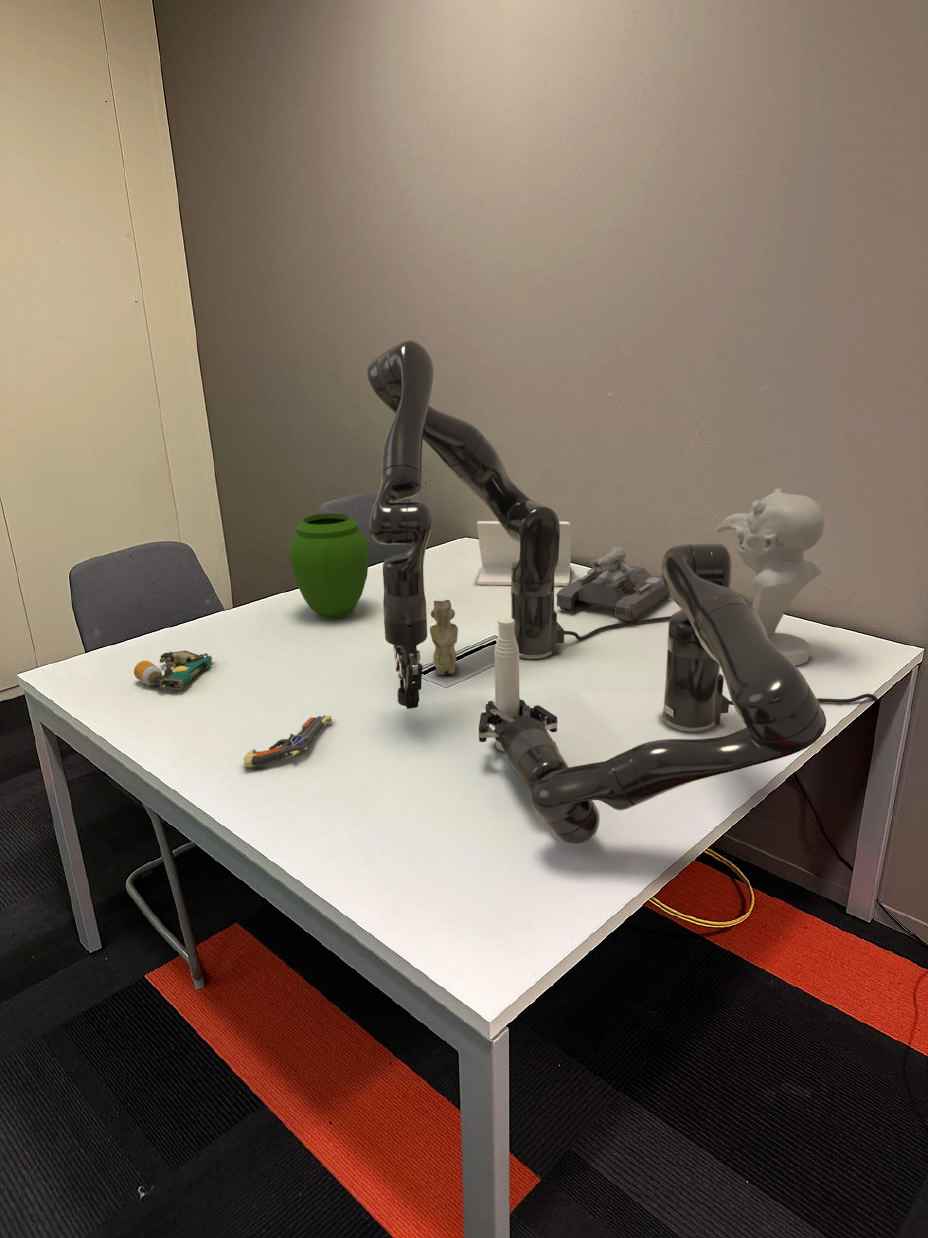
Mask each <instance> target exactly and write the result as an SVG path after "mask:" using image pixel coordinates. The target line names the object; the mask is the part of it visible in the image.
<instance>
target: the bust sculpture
mask: <svg viewBox="0 0 928 1238" xmlns="http://www.w3.org/2000/svg"><path fill="white" fill-rule="evenodd" d="M825 522H826V521H825V513H824V511H823V509H822V508H821V506H820V505H819V504H818V502H816V500H814V499H812V498H811V497H809V496H806V495H802V494H791V493H786V492H784V491H783V489H782V488H780V487H777V488H775V489H774V490H773V492H772V493H770V494H768V495H767V496H765V497H763V498H762V499H761V500H759V499H757V500H754V501H753V502H752V504H751V510H750V512H749V513H743V512H739V513H734V514H730V515H729V516H727V517H726V518H725V519H724V520H723V521H722V522H721V524H719V525H718V526H717V527H716V529H715V530H716V532H718V533H721V532H725V531H729V530H733V531H735V535H736V538H737V539H738V540H739V541H738V542H737V544H736V547H737V550H738V553H739V557H740V558H741V559H742V562H743V563H744V565H746V566H747V567H748V568H750V570H752V572H753V573H755V575H756V576H755V577H754V578H753V580H752V586H753V590H754V592H755V594H756V595H755V597H754V599H753V601H752V603H751V605H752V606H753V608H754V609H755V611H756V612H757V613H758V615H759V616H760V618H761V620H762V621H763V623H764V625H765V628H766V630H767V637H768V639H769V640H770V642H771V643H772V644H773V645H774V646H775V647H776V648H777V649H778V650H779V651H780V652H781V653H782V654H783V655H784V656H785V657H786V658H787V659H788V660H789V661H790V662H792V663H793V664H794V665H795V666H796V667H797V666H800V665H803V664H805V663H806V662H808V661H809V659H810V650H811V645H810V643H809V642H808V641H807V640H806V639H803V638H802V637H800V636H796V635H793V634H789V633H785V632H784V633H783V632H776V630H777V628H778V626H779V623H780V622H781V620H782V618H783V616H784V615H785V613H786V611H788V608H789V607H790V605H791V604H792V603H793V601H794V600H795V598H796V597H797V596H798V594H799V593H800V592H801V591H802V589H804V588H805V587H806V586H807V585H808V584H809V583H811V582H812V581H814V580H815V579H816V578H818V577H820V576H822V575H823V572H822V570H821V569H820V568H819V567H818V565H816V563H814V562H812V561H809V560H805V559H804V557H805V554H804V553H805V552H806V551H808V550H810V549H812V548H813V547H815V546H816V545H817V544H818V543H819V542H820V540H821V539H822V536H823V534H824V531H825Z"/></svg>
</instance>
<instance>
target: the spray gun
mask: <svg viewBox="0 0 928 1238" xmlns="http://www.w3.org/2000/svg"><path fill="white" fill-rule="evenodd" d="M212 660H213V657H212V656H211V655H208V653H207V652H205V653H201V654H197V653H194V652H192V651H191V652H190V651H188V650H180V651H169V652H164V653H162V654H161V655H160V658H159V660H158V662H159V663H161V664H163V663H165V664H166V668H165V670H163V672H164V674H163V673H162V669H160V668H159V666H157V665H156V664H154V663H152V662H151V661H149V660H141V661H139V662H138V663H136V665H135V666H134V668H133V675H134V677H135V678H136V679H137V680H139V681H140V682H142V683H143V684H145V685H147V686H155V685H157V686H158V687H160V688H161V689H171V690H172V689H173V690H182V689H184V687H185V686H186V685H188V684H189V683H190V682H191V681H192V679H193V678H195V677H196V676H197V675H198V674H200V673H201V672H202V671H203V670H206V669H208V668H209V667H210V666H211V665H212V662H213V661H212ZM178 663H179V664H181V665H179V666H176V665H177V664H178Z"/></svg>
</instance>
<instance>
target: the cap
mask: <svg viewBox="0 0 928 1238" xmlns="http://www.w3.org/2000/svg"><path fill="white" fill-rule="evenodd" d="M397 703H398V705H400V706H403V707H406V704H405V689H404V686H402V687H400V686H399V688H397ZM418 703H420V690H418Z"/></svg>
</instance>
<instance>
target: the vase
mask: <svg viewBox="0 0 928 1238" xmlns="http://www.w3.org/2000/svg"><path fill="white" fill-rule="evenodd" d="M358 524H359V523H358V521H356V520H355V519H353V518H352V517H350V516H349V515H347V514H344V513H335V512H334V513H333V512H331V513H320V514H313V515H310V516H307V517H305V518H303V519H302V520H301V521H300V522H299V523H298V524H297V525H296V526H295V532H296V533H295V534H294V536H293V537H292V538H291V540H290V542H289V551H288V559H289V564H290V566H291V567H290V568H291V570H292V575H293V578H294V581H295V584H296V586H297V587H298V589H299V591H300V593H301V596H302V597H303V600H304V601H305V603H306V604H307V605H308V607H309V608H310V609H311V611H312V612H314V613H315V614H316V615H317V616H318V617H320V618H324V619H326V620H327V619H329V620H336V619H341V618H345V617H347V616H349V615H350V614H351V613H352V612H353V611H354V610H355V608H356V607H357V605H358V604H359V601H360V599H361V597H362V595H363V592H364V588H365V586H366V581H367V578H368V570H369V561H370V560H369V559H370V548H369V545H368V541H367V537H366V535H365V534H364V533H363V532H362V531H361V530H360V529H359V527H358Z"/></svg>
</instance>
